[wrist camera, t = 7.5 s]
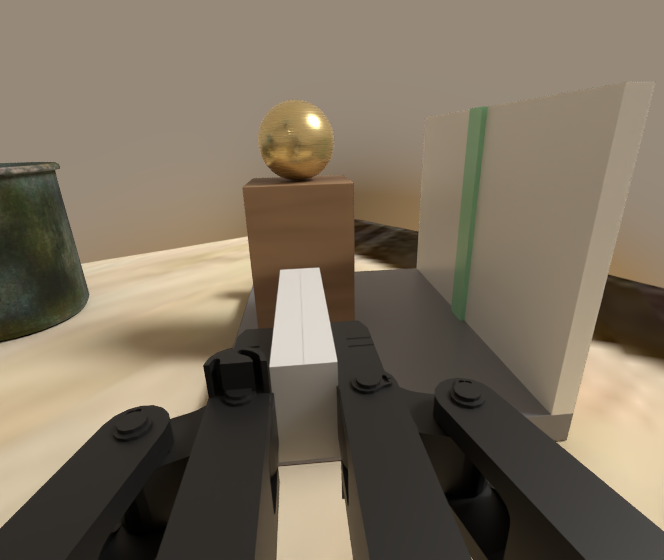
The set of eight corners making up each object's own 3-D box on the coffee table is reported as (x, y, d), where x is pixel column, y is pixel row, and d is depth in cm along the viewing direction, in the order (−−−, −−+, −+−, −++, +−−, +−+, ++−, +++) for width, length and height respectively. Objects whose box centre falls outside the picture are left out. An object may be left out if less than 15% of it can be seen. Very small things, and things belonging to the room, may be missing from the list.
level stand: (566, 440, 17) (656, 81, 12) (207, 472, 16) (133, 92, 11) (426, 282, 36) (437, 117, 30) (257, 292, 34) (238, 122, 29)
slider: (354, 329, 24) (353, 93, 19) (259, 335, 23) (232, 96, 18) (345, 298, 28) (342, 102, 23) (265, 302, 28) (245, 105, 23)
